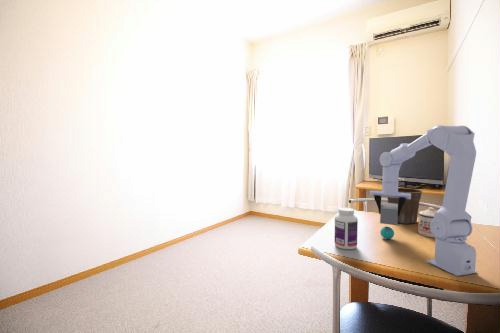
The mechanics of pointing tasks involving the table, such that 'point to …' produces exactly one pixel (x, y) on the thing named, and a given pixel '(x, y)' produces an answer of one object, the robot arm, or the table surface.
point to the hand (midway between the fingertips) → (389, 214)
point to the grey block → (389, 213)
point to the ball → (387, 232)
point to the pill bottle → (346, 229)
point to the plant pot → (408, 205)
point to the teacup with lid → (426, 221)
